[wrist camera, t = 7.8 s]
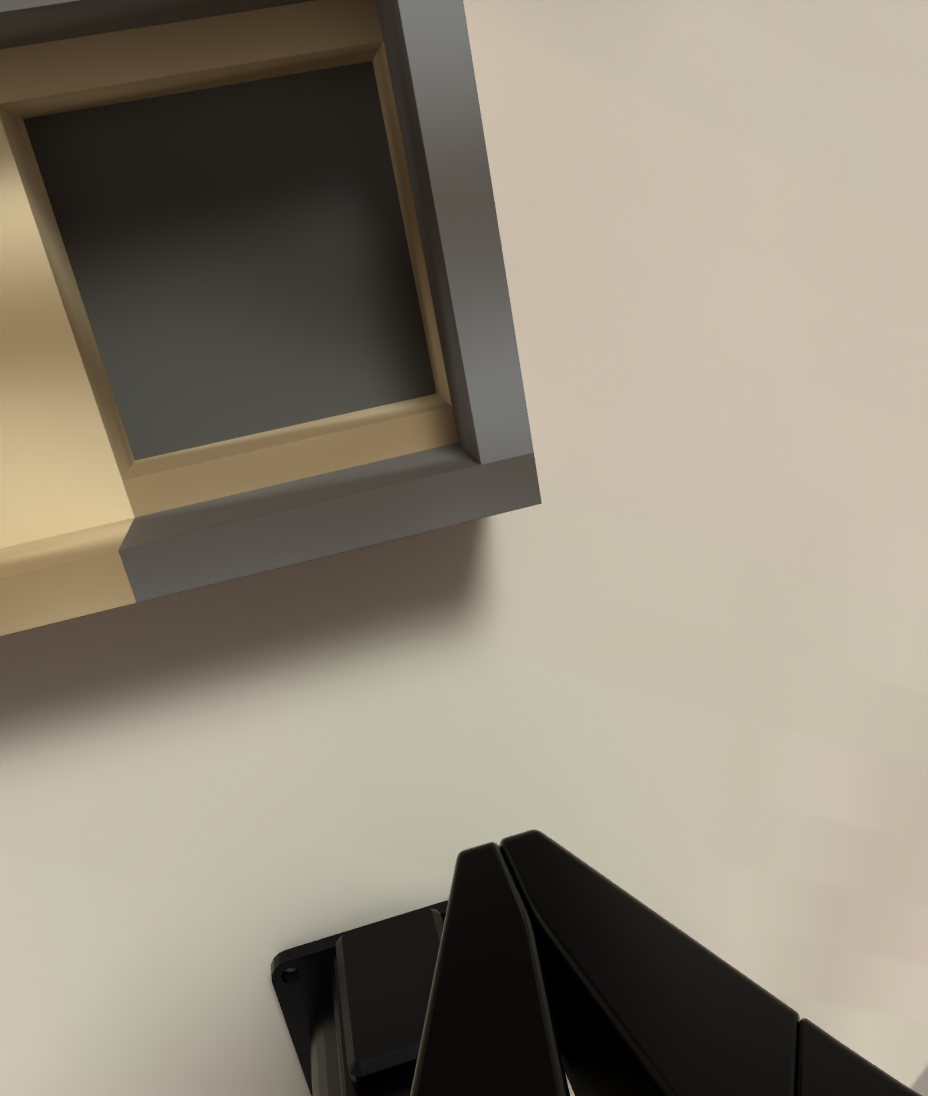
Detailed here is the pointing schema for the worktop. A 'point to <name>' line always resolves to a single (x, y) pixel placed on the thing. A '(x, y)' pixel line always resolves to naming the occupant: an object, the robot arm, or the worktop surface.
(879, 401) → the worktop surface
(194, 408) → the box
